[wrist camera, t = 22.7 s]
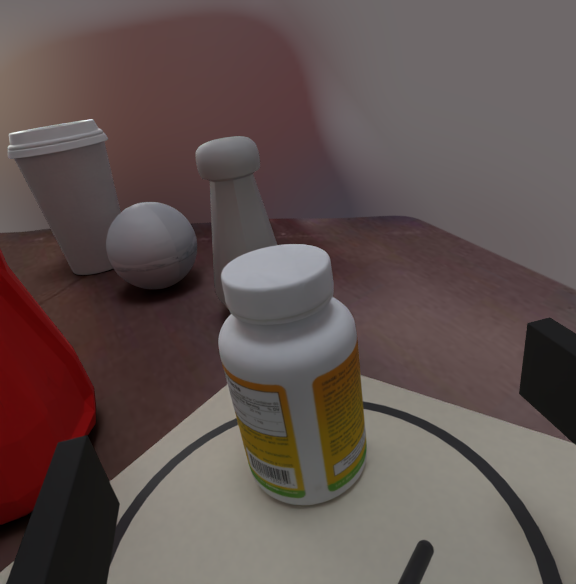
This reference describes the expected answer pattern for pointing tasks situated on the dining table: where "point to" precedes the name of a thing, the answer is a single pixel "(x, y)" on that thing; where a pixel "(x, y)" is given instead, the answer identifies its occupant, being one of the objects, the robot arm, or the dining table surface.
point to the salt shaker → (233, 201)
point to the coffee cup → (71, 188)
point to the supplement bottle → (293, 373)
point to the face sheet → (353, 505)
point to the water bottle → (35, 396)
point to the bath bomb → (151, 245)
